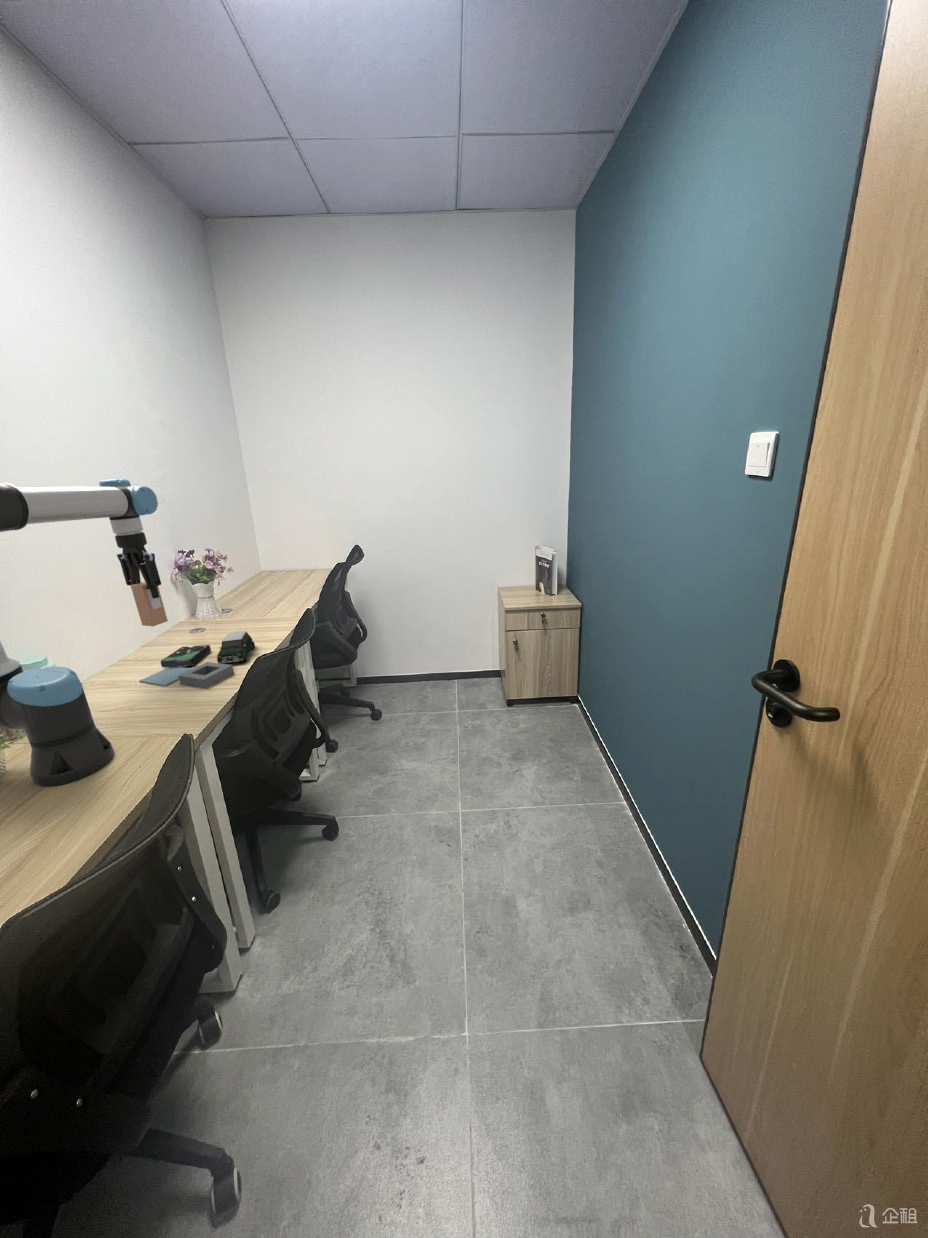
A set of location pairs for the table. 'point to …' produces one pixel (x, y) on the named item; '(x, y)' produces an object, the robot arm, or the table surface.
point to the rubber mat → (165, 676)
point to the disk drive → (185, 656)
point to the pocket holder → (206, 674)
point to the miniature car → (235, 647)
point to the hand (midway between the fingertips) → (150, 607)
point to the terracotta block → (147, 606)
